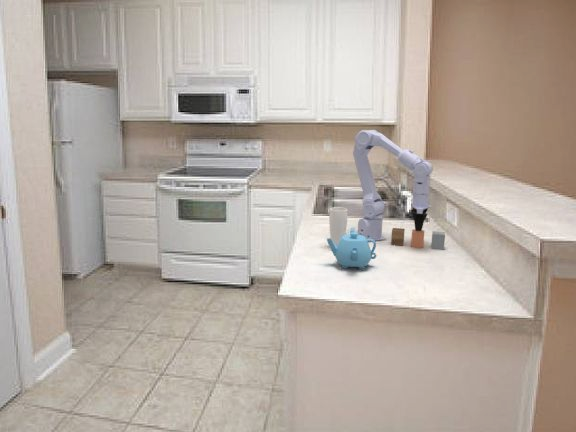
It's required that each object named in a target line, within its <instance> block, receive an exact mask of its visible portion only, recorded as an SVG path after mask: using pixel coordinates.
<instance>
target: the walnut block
mask: <svg viewBox="0 0 576 432" xmlns="http://www.w3.org/2000/svg"><path fill="white" fill-rule="evenodd" d="M390 238H391V240H390V242H391V243H390V246H394V245H395V246H396V247H403V246H404V243H405V242H404V241H405V228H401V227H400V228H399V227H398V228H397V227H392V229H391V237H390Z"/></svg>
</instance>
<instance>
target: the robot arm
mask: <svg viewBox="0 0 576 432" xmlns="http://www.w3.org/2000/svg"><path fill="white" fill-rule="evenodd" d="M353 146H354V147H353V151H352V153H353V155H352V156H353V158H354V163H355V166H356V170H357V173H358V178H359V182H360V187H361V189H362V193H363V198H362V214H363V215H364V217H363V218H360V219H359V220H358V223H357V233H358V235H362V236H364V237H365V238H366V239H373V240H374V241H375V242H377V241H383V240H384V241H385V240H387V238H386V237H384V236H382V235H383V219H384V218H383V216H384V215H383V213H384V212H386V208H387V207H386V204H385V202H384V201H383V200H382V197H381V195H380V194H379V193H378V190H377V187H376V183H375V179H374V176H373V175H374V174H373V172H372V168H371V164H370V160H369V157H368V155H369V153H370V152H371V150H372V149H373V148H374V147H381V148H383V149H384V150H386V151H387V152H389V153H390V154H392V155H394V156H395V157H397V161H398V163H400V164H401V165H402V166H404V167H405V168H406V169H408V170H409V171H411V172H412V174H413V176H414V181H413V194H412V204H411V207H412V210H413V211H411V215H412V218H413V222H414V230H416V231H421V230H423V227H424V223H425V220H426V218H427V216H428V213H427V212H428V210H429V209H431V208H432V205H431V204H429V199H430V187H431V186H430V185H431V174H432V173H433V170H434V168H433V164H432V163H431V162H430V161H429V160H424V158H423V157H420V156H418V155H416V154H415V153H414V150H413V149H402V148H401V147H400V146H398V145H397V144H395V143H394V142H393V141H391V139H389V138H388V137H387V136H385V134H383V133H381V132H378V131H377V130H376V129H368V130H367V129H362V130H360V131H358V133H357V134H356V135H355V137H354V145H353ZM369 242H371V241H368V243H369Z"/></svg>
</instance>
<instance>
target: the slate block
mask: <svg viewBox="0 0 576 432" xmlns="http://www.w3.org/2000/svg"><path fill="white" fill-rule="evenodd" d="M431 234H432V235H431V245H430V246H431V247H430V248H431V250H437V251H438V250H440V251H445V242H446V241H445V240H446V238H445V237H446V232H445V231H436V230H432V232H431Z"/></svg>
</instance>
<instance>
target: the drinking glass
mask: <svg viewBox="0 0 576 432" xmlns="http://www.w3.org/2000/svg"><path fill="white" fill-rule="evenodd" d="M348 217H349V215H348V208H346V207H341V206H336V207H330V208H329V221H328V222H329V235H330V236H329V238H331V239H332V241H333V242H334V244H335V245H336V246H337V245H338V243H339V241H340V239H341V237H342V236H343V235H347V233H346V232H347V225H348Z"/></svg>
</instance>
